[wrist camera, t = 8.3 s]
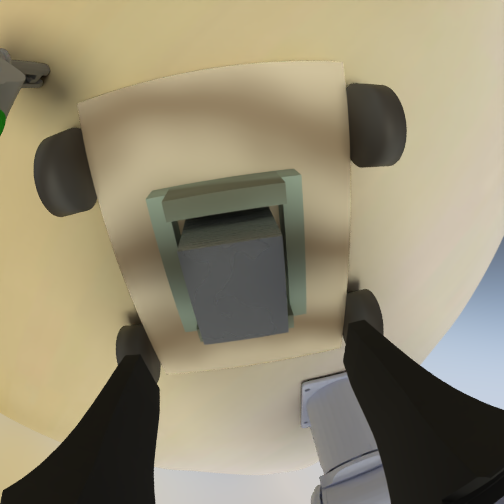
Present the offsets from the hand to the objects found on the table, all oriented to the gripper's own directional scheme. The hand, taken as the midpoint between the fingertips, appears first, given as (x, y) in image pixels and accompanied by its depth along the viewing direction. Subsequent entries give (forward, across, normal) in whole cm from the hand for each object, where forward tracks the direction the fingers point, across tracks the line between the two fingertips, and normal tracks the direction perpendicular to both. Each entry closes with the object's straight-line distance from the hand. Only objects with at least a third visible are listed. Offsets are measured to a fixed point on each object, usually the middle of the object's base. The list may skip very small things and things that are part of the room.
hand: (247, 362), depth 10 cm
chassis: (+9, 0, 0) cm, 9 cm away
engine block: (+8, 0, 0) cm, 8 cm away
